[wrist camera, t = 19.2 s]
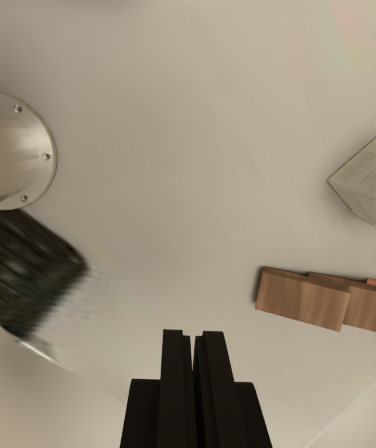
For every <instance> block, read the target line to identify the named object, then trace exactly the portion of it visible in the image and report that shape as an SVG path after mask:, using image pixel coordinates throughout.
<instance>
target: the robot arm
mask: <svg viewBox="0 0 376 448" xmlns="http://www.w3.org/2000/svg"><path fill="white" fill-rule="evenodd" d="M20 107H21V108H22V112H20V111H19V108H20ZM48 154H49V155H50V156H51V158H50V159H49V158H48V157H47V155H48ZM56 165H57V153H56V147H55V143H54V140H53V137H52V135H51V132H50V130H49V129H48V127H47V125H46V124H45V122H44V121H43V120H42V118H41V117H40V116H39V115H38V114H37V113H36V112H35V111H34V110H33V109H32V108H30V107H29V106H28V105H27V104H25V103H23V102H22V101H20V100H18V99H16V98H14V97H11V96H8V95H5V94H0V210H12V209H17V208H21V207H23V206H26V205H28V204H30V203H32V202H33V201H35V200H37V199H38V198H39V197H40V196H41V195H42V194H43V193H45V191H46V190H47V188H48V187H49V186H50V184H51V182H52V180H53V177H54V175H55V170H56ZM25 195H26V196H27V198H28V199H26V198H25ZM120 448H272V444H271V441H270V438H269V434H268V431H267V427H266V424H265V421H264V417H263V414H262V411H261V407H260V404H259V400H258V397H257V394H256V390H255V387H254V385H253V383H252V382H234V378H233V373H232V369H231V364H230V360H229V356H228V351H227V347H226V342H225V338H224V334H223V332H220V331H203V335H202V336H196V337H195V347H194V359H193V371H192V358H191V344H190V336H185V335H183V331H182V330H167V329H163V344H162V361H161V379H160V380H157V379H132V380H131V384H130V390H129V396H128V402H127V408H126V414H125V420H124V426H123V431H122V437H121V443H120Z"/></svg>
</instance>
